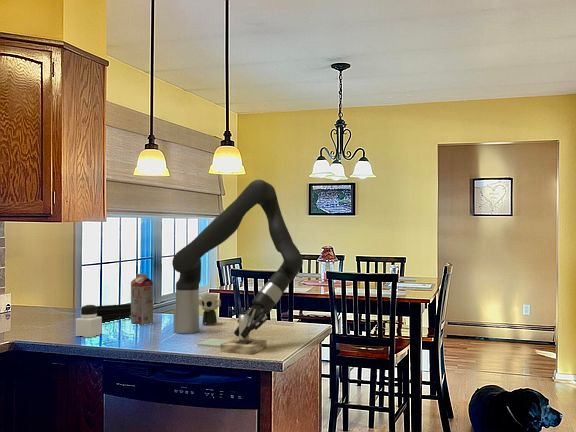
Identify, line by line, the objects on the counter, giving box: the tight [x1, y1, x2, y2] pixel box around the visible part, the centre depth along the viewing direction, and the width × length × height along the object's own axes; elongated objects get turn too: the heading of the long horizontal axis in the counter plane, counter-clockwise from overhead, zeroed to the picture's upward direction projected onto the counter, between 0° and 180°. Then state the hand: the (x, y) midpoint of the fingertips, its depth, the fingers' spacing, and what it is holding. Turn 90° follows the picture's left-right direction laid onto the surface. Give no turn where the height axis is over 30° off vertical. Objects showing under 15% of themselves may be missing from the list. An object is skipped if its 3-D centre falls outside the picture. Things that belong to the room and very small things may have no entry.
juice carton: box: [130, 273, 154, 325], centre depth 253 cm, size 7×7×22 cm
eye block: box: [220, 337, 268, 355], centre depth 202 cm, size 12×12×2 cm
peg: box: [238, 313, 250, 344], centre depth 202 cm, size 4×4×12 cm
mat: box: [196, 338, 231, 348], centre depth 212 cm, size 10×10×1 cm
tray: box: [96, 303, 131, 323], centre depth 268 cm, size 30×23×5 cm
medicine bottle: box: [75, 304, 103, 338], centre depth 228 cm, size 7×7×12 cm
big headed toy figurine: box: [199, 293, 222, 325], centre depth 252 cm, size 11×7×13 cm, turn 66°
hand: (239, 335), depth 201 cm, fingers closed on peg, 3 cm apart
